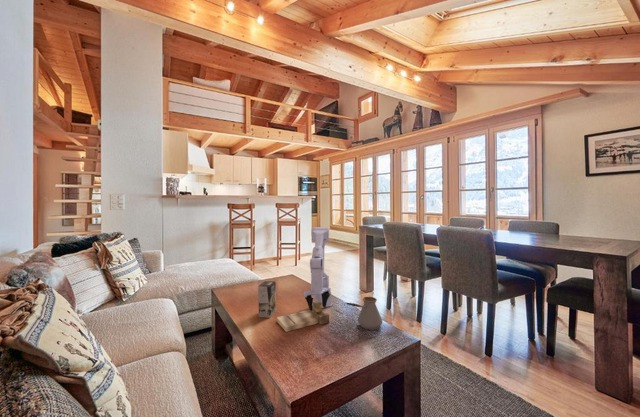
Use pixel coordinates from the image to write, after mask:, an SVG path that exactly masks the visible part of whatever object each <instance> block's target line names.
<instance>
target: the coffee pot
mask: <svg viewBox="0 0 640 417" xmlns="http://www.w3.org/2000/svg"><path fill="white" fill-rule="evenodd" d="M377 300H378V299H377V298H376V297H373V296H364V297H363V298H362V301H363V305H361V304H357V303H354V302H353V303H352V302H345V303H344V304H343V305H344V307H345V308H348V306H352V307H357V308H361V310H360V312H359V314H358V317H357V322H358V324H359V325H360V326H361V327H362V329H364V328H366V329H365V330H367V329H369V331H374V329H375V330H377V329H379V328H380V327H381V326H382V324H383V318H382V316H381V314H380V311H379V310H378V307H377V304H376V302H377ZM346 305H347V307H346Z"/></svg>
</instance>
